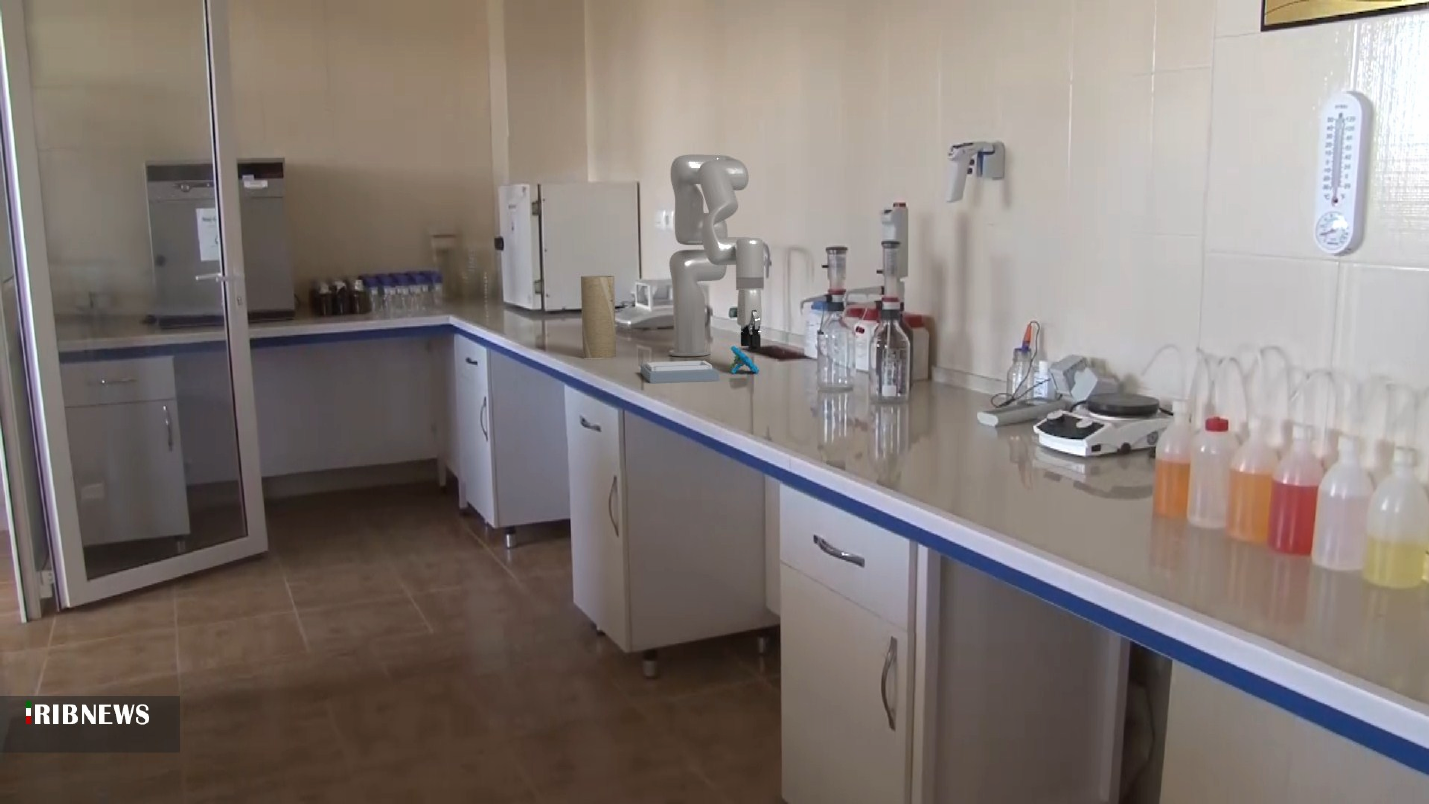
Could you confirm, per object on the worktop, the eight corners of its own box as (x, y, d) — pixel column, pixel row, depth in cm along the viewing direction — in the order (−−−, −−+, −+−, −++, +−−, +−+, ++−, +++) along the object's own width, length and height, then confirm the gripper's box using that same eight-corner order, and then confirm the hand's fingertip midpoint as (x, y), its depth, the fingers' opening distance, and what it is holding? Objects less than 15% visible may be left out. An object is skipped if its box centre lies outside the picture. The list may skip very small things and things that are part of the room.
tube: (618, 357, 354) (616, 275, 350) (612, 361, 344) (610, 277, 340) (586, 357, 355) (584, 275, 351) (579, 360, 345) (577, 277, 341)
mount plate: (640, 373, 315) (640, 360, 314) (705, 371, 318) (705, 358, 318) (650, 383, 296) (650, 369, 295) (719, 380, 299) (719, 367, 298)
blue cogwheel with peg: (765, 371, 308) (740, 345, 305) (750, 387, 307) (725, 361, 304) (752, 367, 318) (729, 341, 315) (738, 382, 318) (714, 357, 315)
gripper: (729, 283, 316) (730, 345, 319) (743, 286, 300) (743, 351, 302) (756, 282, 318) (757, 344, 320) (771, 285, 301) (771, 350, 304)
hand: (750, 347), depth 311 cm, fingers open, 9 cm apart
